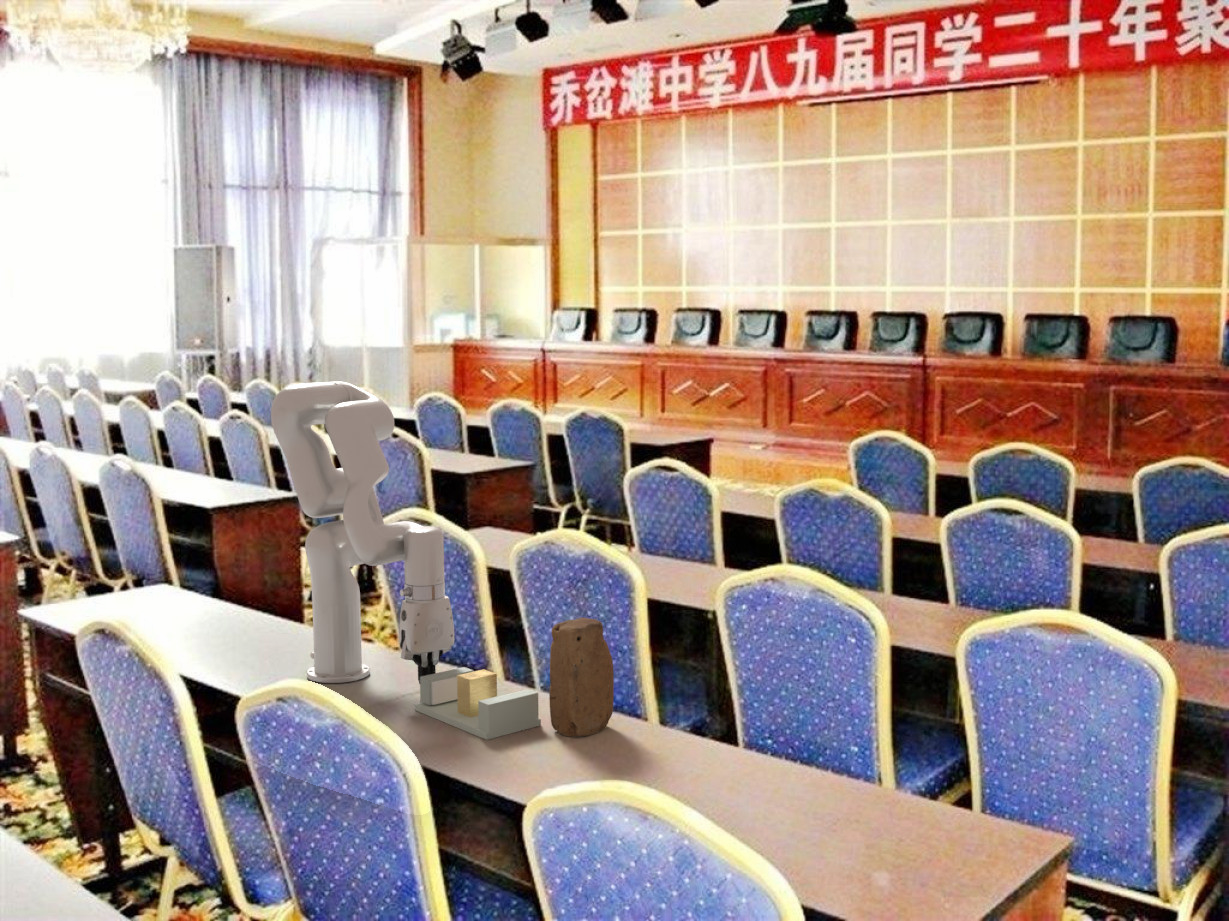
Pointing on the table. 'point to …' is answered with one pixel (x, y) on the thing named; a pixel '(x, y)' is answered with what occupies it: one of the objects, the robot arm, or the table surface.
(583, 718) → the block
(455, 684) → the sliding jaw
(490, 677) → the tan rectangular workpiece
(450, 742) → the table surface
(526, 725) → the vise body
